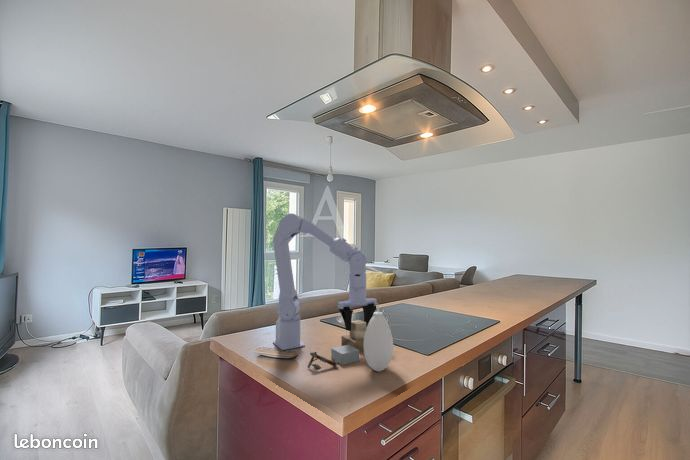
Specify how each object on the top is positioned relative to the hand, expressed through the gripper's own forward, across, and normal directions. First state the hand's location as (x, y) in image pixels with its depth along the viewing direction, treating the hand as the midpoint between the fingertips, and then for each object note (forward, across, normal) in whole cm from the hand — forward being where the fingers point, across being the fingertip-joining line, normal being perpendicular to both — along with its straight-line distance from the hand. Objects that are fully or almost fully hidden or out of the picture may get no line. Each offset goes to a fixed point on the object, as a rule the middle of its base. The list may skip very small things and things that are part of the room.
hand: (357, 328), depth 105 cm
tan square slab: (+6, 0, 0) cm, 6 cm away
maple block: (+3, 0, 0) cm, 3 cm away
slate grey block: (+6, -10, -8) cm, 14 cm away
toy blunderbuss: (+6, -18, -10) cm, 22 cm away
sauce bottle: (+6, -6, -19) cm, 21 cm away
